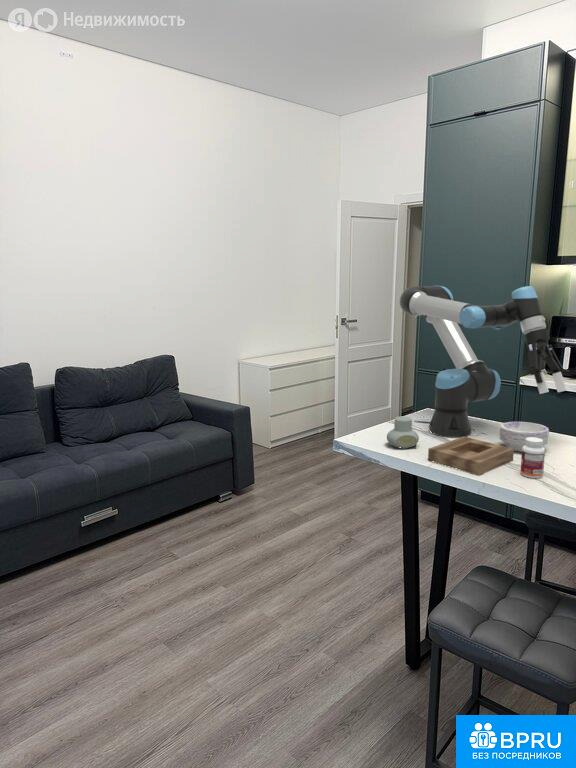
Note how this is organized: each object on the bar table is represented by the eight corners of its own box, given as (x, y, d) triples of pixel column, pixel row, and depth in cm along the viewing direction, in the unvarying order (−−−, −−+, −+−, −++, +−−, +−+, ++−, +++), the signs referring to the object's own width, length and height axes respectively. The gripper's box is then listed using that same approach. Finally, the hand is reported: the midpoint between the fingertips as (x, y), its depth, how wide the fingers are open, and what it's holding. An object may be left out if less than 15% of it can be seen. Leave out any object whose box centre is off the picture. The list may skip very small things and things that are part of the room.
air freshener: (390, 450, 186) (391, 421, 184) (383, 443, 194) (384, 415, 192) (421, 449, 187) (422, 420, 185) (413, 441, 195) (414, 414, 193)
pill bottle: (524, 469, 167) (527, 435, 164) (545, 474, 162) (549, 438, 160) (516, 475, 162) (519, 439, 160) (538, 480, 158) (541, 443, 156)
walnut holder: (428, 460, 176) (428, 448, 175) (463, 447, 188) (463, 436, 188) (478, 475, 162) (479, 462, 161) (513, 460, 175) (513, 448, 174)
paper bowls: (509, 439, 197) (510, 418, 196) (553, 448, 187) (555, 425, 185) (491, 449, 186) (492, 426, 185) (537, 459, 176) (539, 435, 175)
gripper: (528, 325, 174) (547, 390, 170) (561, 329, 190) (580, 387, 186) (506, 334, 179) (525, 396, 175) (540, 336, 196) (558, 393, 192)
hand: (553, 392), depth 181 cm, fingers open, 13 cm apart
